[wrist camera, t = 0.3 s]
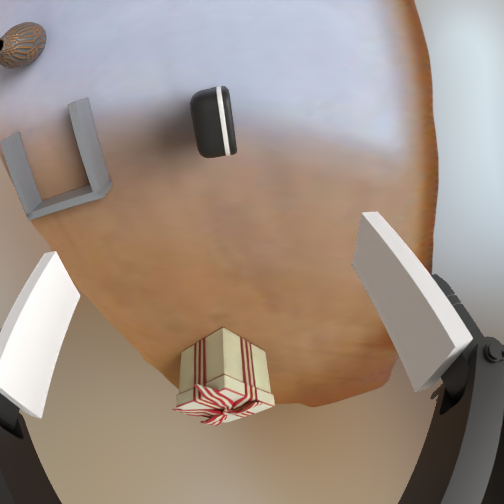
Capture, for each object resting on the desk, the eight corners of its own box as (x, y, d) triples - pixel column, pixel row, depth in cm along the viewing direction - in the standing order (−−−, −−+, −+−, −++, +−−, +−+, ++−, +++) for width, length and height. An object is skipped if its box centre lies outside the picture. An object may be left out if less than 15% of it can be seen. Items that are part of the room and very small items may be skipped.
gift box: (207, 317, 54) (208, 395, 40) (269, 347, 63) (281, 413, 49) (164, 351, 60) (159, 417, 46) (223, 375, 69) (227, 433, 55)
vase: (48, 62, 22) (12, 67, 15) (16, 69, 21) (-21, 77, 14) (57, 19, 18) (22, 14, 11) (23, 28, 17) (-13, 29, 10)
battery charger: (195, 89, 29) (184, 94, 20) (226, 84, 29) (228, 87, 20) (204, 139, 33) (197, 166, 24) (232, 134, 34) (238, 160, 24)
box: (14, 134, 27) (0, 142, 23) (88, 97, 27) (75, 101, 24) (40, 208, 35) (28, 220, 32) (112, 186, 35) (103, 197, 32)
